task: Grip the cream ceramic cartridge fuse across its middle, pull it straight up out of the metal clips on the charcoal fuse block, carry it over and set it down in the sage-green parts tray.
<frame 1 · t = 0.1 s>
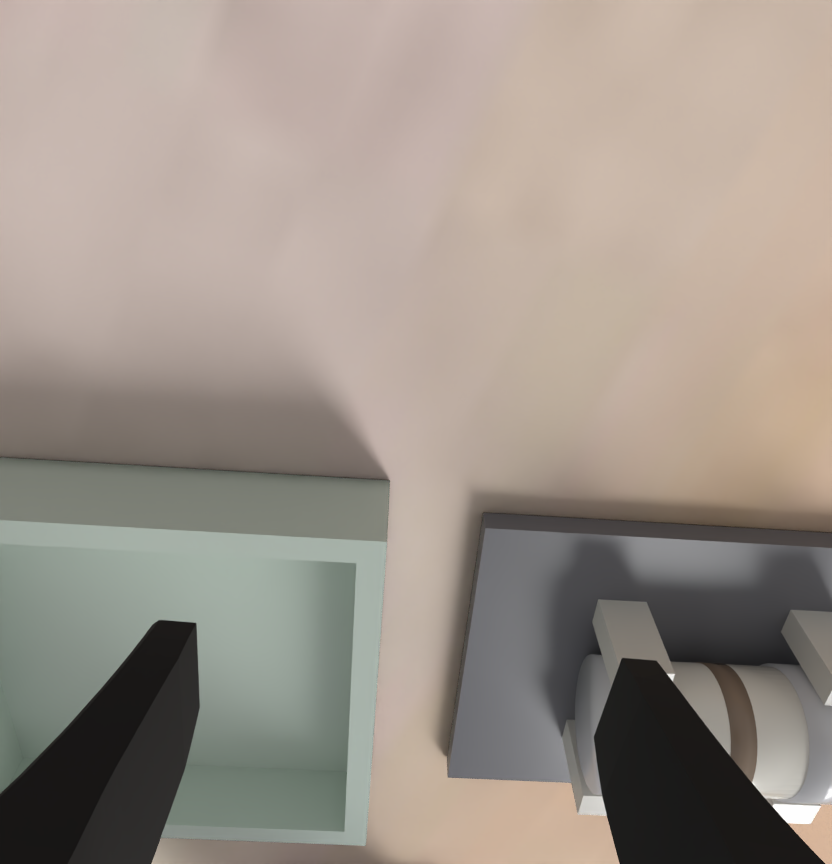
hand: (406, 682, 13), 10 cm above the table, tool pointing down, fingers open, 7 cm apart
fuse block: (684, 661, 26), on the table
fuse: (691, 678, 26), point 1 cm above the table, touching fuse block
parts tray: (178, 635, 26), on the table
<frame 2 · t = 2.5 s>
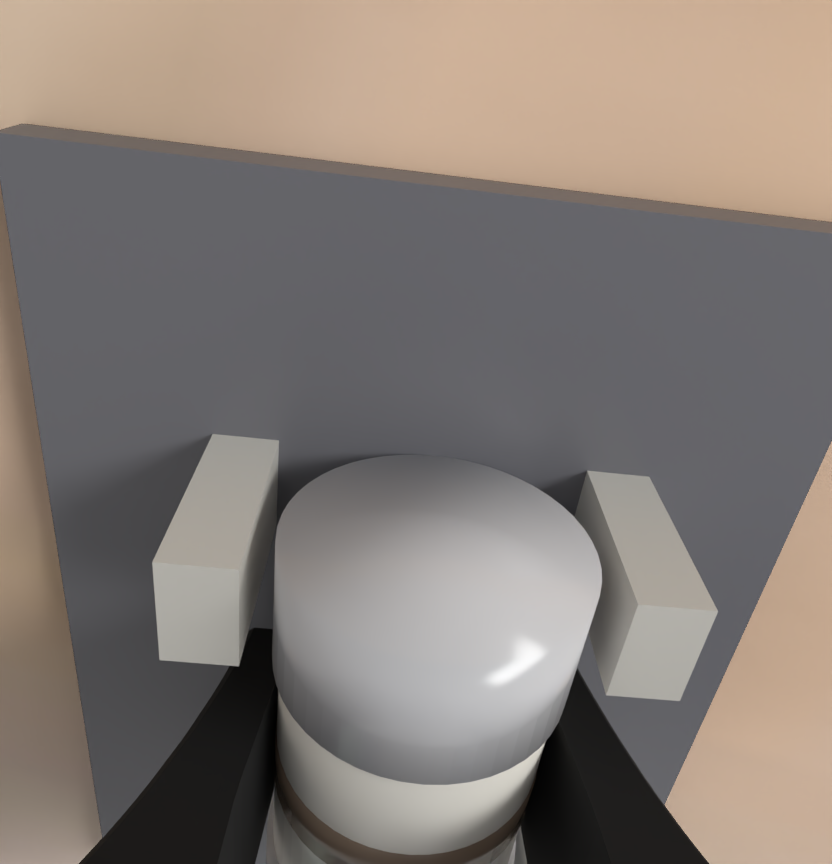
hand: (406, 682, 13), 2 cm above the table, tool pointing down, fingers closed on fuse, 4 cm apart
fuse block: (406, 611, 14), on the table
fuse: (406, 642, 13), point 1 cm above the table, touching fuse block, gripper
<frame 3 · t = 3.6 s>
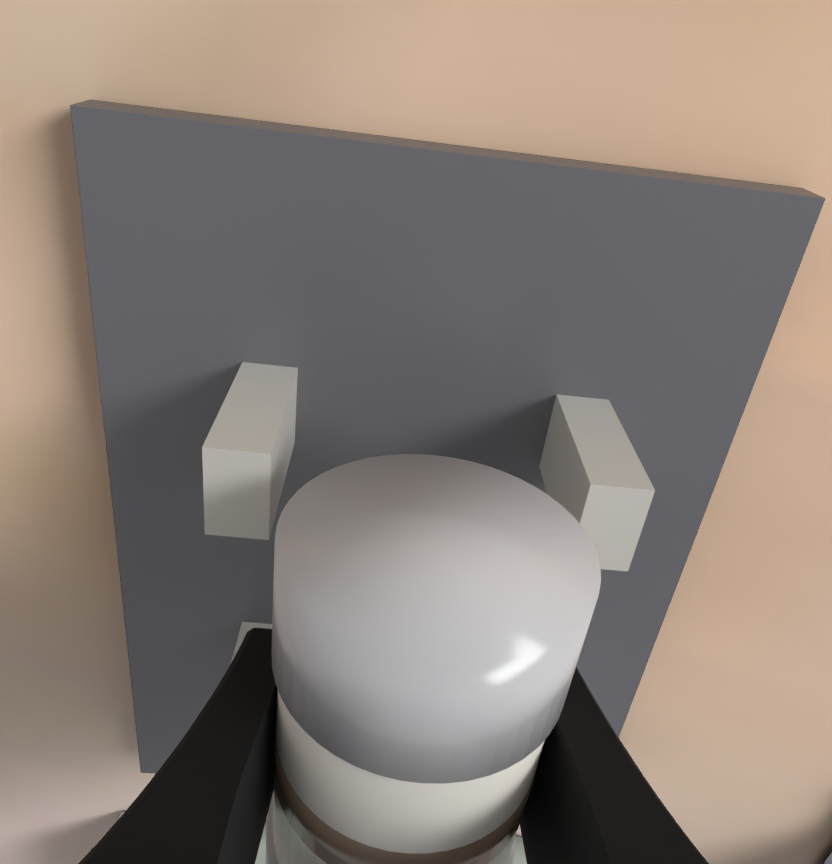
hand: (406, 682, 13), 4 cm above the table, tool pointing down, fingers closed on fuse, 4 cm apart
fuse block: (405, 527, 16), on the table
fuse: (406, 642, 13), point 3 cm above the table, touching gripper
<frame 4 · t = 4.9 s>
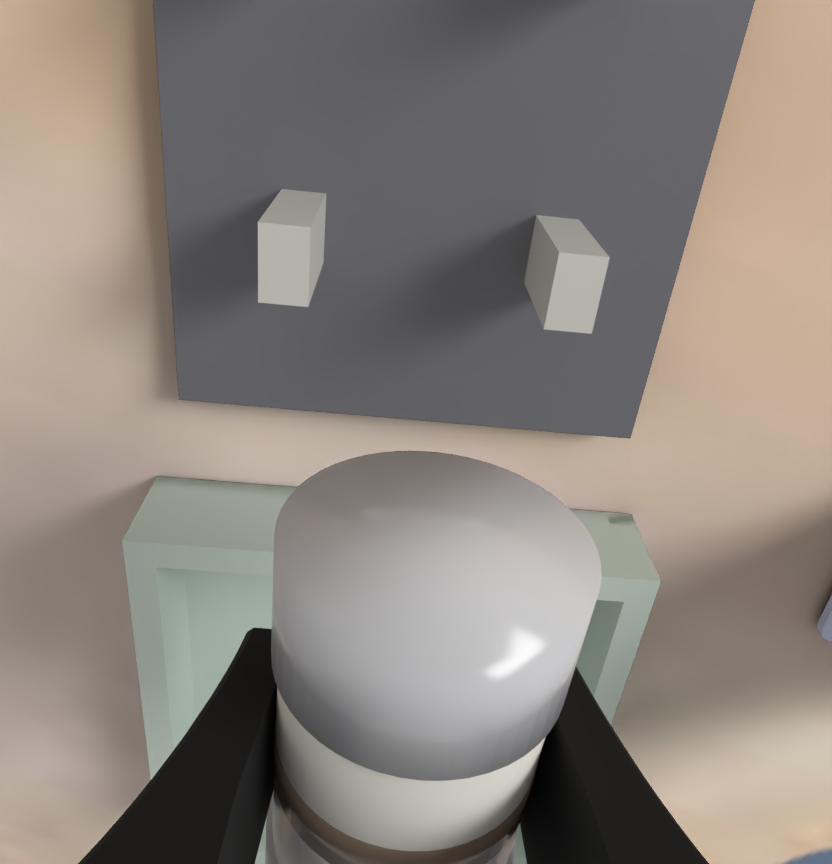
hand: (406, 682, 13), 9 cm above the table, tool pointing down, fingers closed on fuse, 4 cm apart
fuse block: (443, 85, 16), on the table
fuse: (405, 640, 13), point 8 cm above the table, touching gripper
parts tray: (380, 664, 25), on the table
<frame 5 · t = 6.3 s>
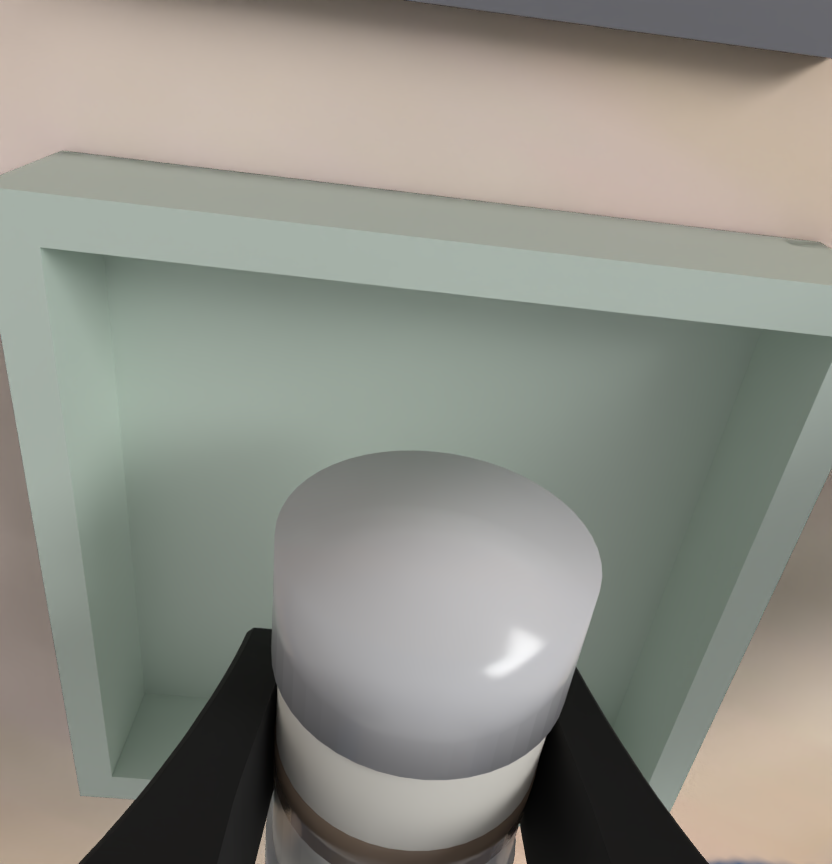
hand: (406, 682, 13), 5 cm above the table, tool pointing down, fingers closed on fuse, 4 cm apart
fuse: (406, 639, 13), point 4 cm above the table, touching gripper
parts tray: (409, 508, 17), on the table
when the fingers open (3 cm above the table, at t = 7.5 s): fuse drops 2 cm, resting on parts tray.
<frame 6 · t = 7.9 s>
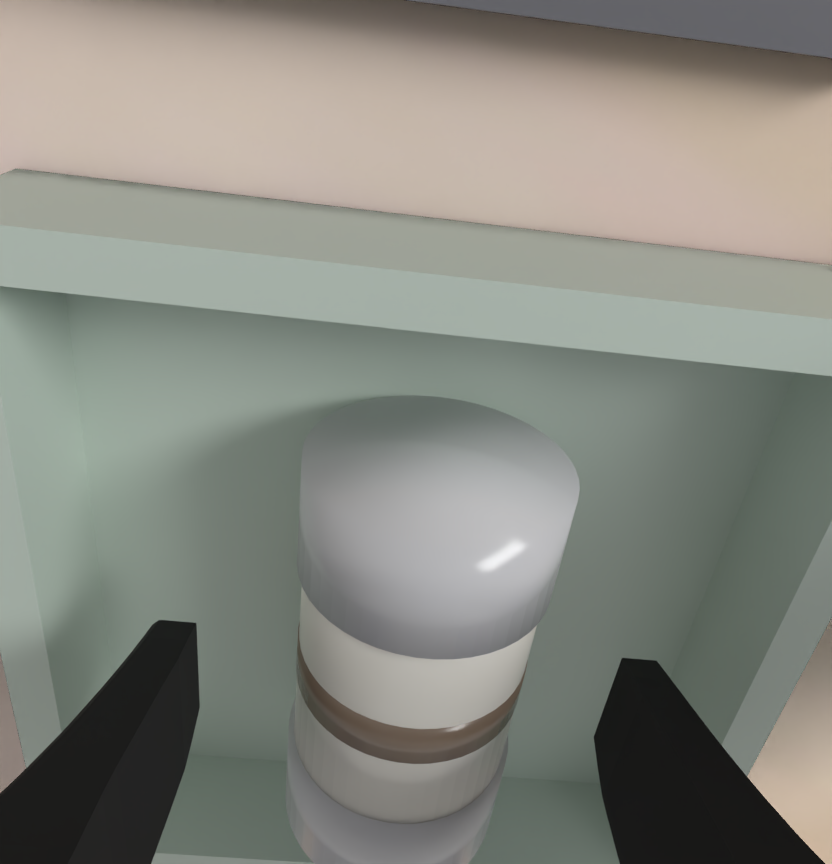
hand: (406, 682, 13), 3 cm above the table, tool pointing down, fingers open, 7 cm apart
fuse: (407, 571, 15), point 1 cm above the table, touching parts tray
parts tray: (407, 554, 16), on the table
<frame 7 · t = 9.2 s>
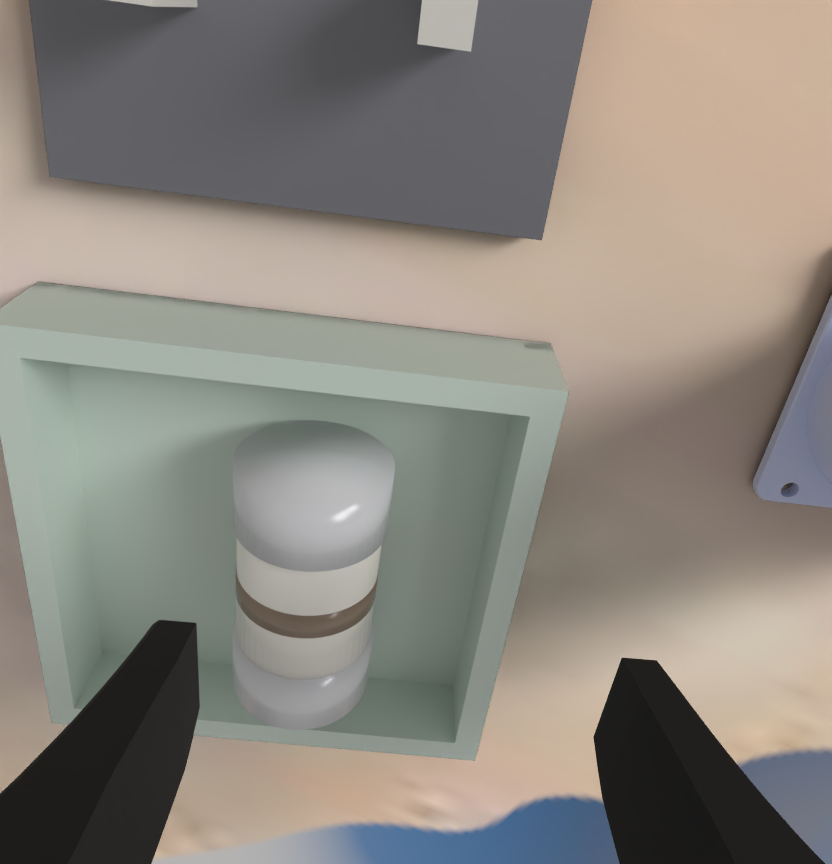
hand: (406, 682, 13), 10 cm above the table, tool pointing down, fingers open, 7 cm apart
fuse: (286, 532, 23), point 1 cm above the table, tilted 26°, touching parts tray
parts tray: (289, 518, 24), on the table
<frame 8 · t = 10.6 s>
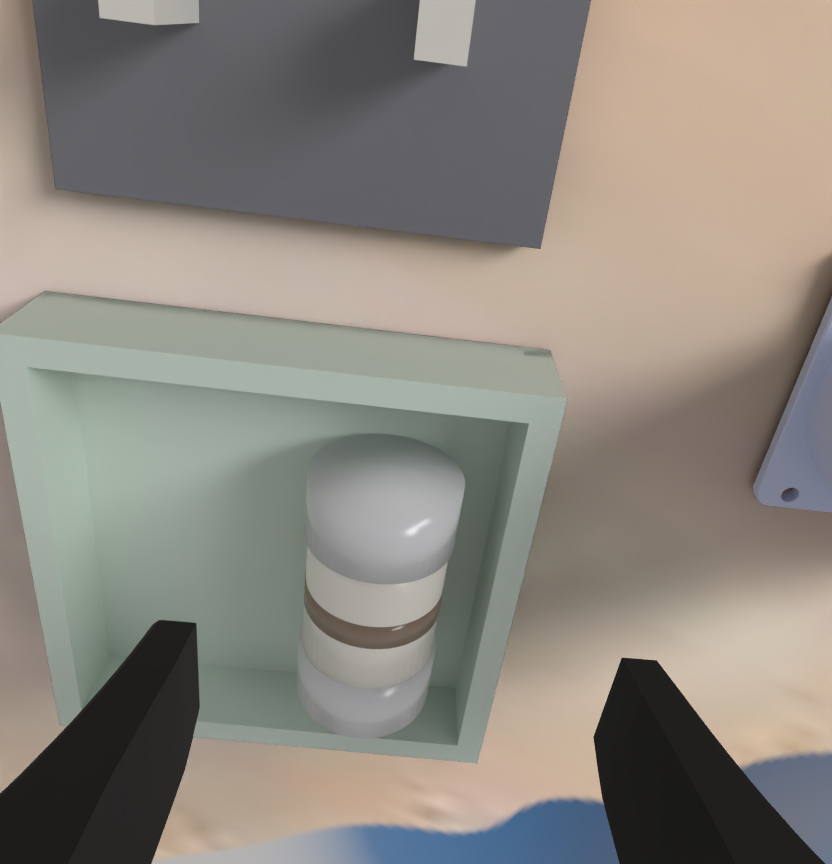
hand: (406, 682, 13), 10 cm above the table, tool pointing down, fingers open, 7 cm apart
fuse: (306, 569, 22), point 2 cm above the table, tilted 77°, touching parts tray
parts tray: (292, 523, 24), on the table
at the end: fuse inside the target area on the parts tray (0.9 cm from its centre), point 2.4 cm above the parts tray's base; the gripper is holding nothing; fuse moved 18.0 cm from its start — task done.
